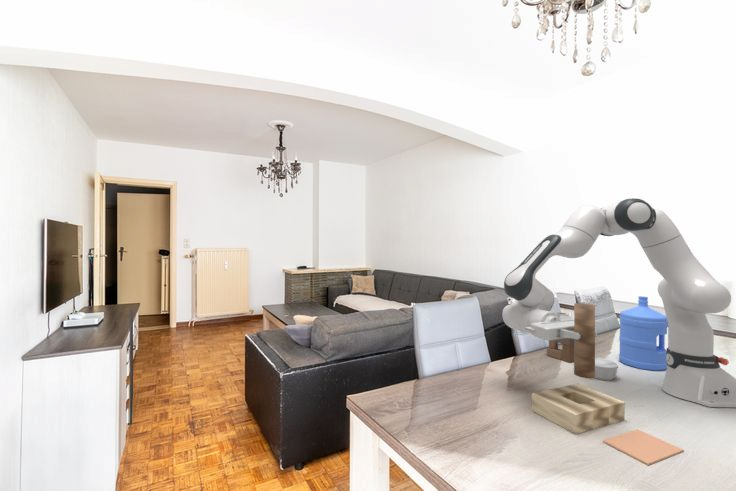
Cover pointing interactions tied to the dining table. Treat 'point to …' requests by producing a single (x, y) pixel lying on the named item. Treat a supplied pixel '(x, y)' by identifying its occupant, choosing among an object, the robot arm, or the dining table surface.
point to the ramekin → (605, 369)
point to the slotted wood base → (578, 407)
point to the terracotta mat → (643, 446)
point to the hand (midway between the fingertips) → (587, 335)
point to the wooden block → (566, 350)
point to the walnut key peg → (584, 340)
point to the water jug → (643, 337)
